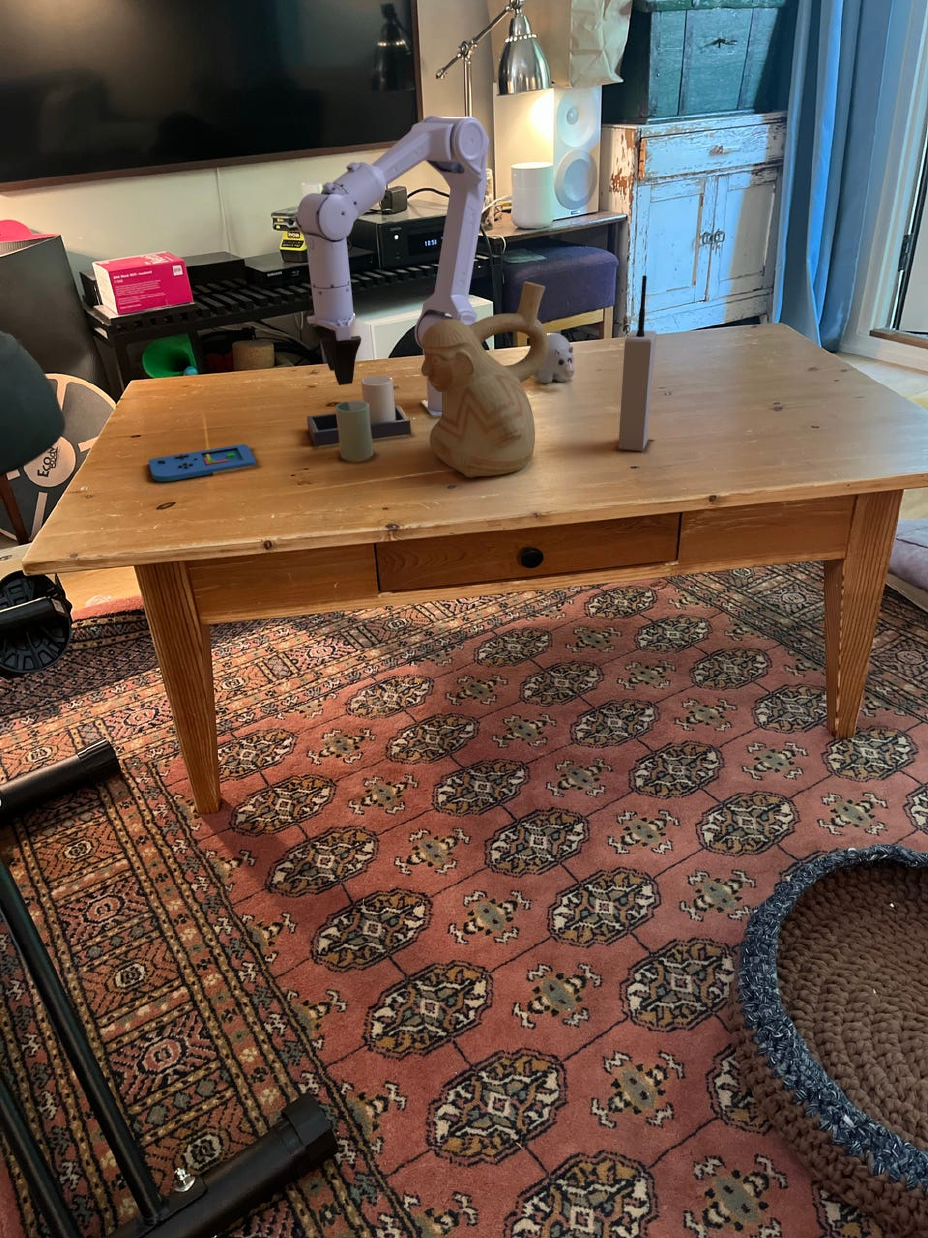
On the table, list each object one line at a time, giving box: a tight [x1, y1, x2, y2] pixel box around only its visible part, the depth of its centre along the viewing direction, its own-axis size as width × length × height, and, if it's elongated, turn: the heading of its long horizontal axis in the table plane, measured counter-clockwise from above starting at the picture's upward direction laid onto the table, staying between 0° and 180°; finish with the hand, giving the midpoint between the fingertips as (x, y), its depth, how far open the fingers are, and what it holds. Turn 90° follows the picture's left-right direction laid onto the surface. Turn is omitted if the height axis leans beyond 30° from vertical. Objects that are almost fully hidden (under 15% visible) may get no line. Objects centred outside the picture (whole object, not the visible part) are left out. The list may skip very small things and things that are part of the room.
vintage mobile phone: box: [618, 274, 657, 452], centre depth 132 cm, size 4×5×25 cm
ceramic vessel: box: [420, 281, 549, 479], centre depth 128 cm, size 17×20×25 cm
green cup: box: [334, 400, 374, 461], centre depth 136 cm, size 5×5×8 cm
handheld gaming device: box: [148, 443, 257, 482], centre depth 137 cm, size 8×1×15 cm
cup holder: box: [306, 404, 412, 447], centre depth 146 cm, size 15×8×3 cm, turn 106°
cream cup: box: [361, 375, 396, 424], centre depth 145 cm, size 5×5×8 cm
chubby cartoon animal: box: [532, 332, 576, 384], centre depth 163 cm, size 7×12×8 cm, turn 16°
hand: (340, 376), depth 139 cm, fingers open, 7 cm apart
